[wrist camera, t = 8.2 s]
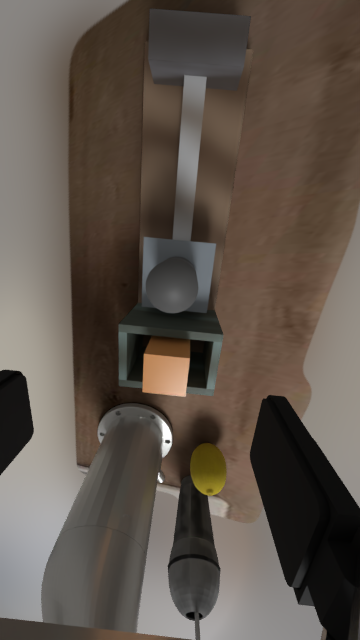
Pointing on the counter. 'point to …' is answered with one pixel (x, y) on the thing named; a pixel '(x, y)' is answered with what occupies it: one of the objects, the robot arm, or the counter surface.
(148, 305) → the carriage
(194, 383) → the rail base
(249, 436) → the counter surface
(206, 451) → the lemon
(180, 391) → the orange block
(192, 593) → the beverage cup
